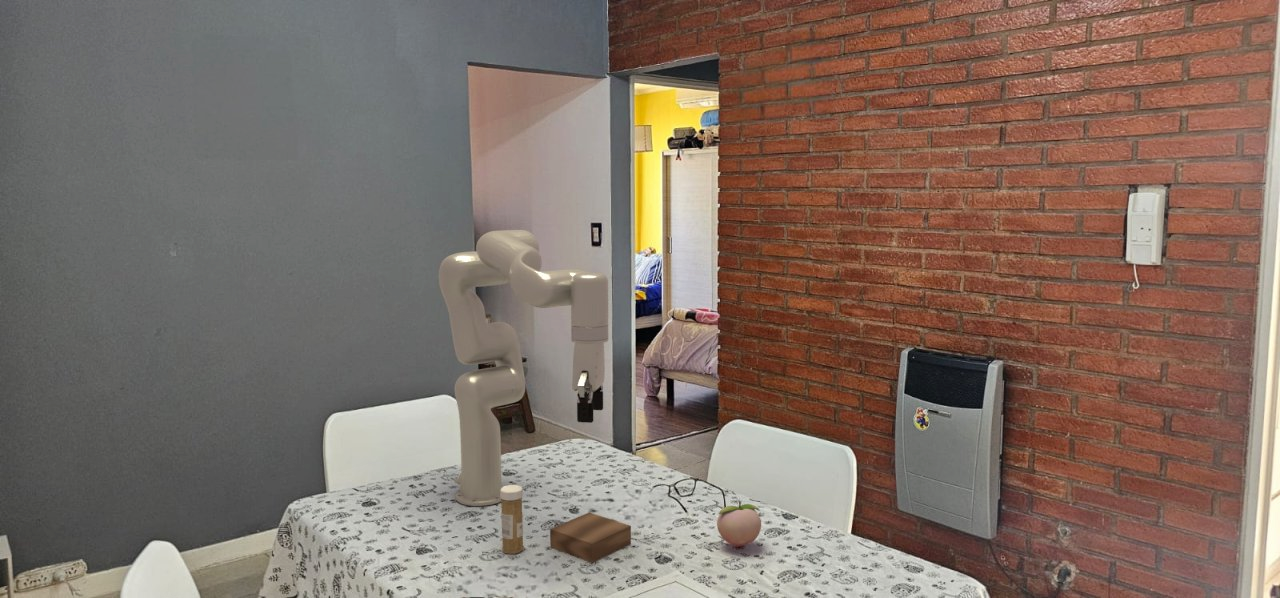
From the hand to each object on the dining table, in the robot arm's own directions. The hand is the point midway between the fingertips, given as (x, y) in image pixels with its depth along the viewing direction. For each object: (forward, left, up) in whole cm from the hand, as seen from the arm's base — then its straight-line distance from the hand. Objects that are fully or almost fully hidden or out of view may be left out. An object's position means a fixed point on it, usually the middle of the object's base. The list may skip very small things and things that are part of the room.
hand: (590, 415), depth 174 cm
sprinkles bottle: (-12, -12, -28) cm, 33 cm away
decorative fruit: (+24, +19, -28) cm, 42 cm away
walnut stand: (-1, 0, -28) cm, 28 cm away
